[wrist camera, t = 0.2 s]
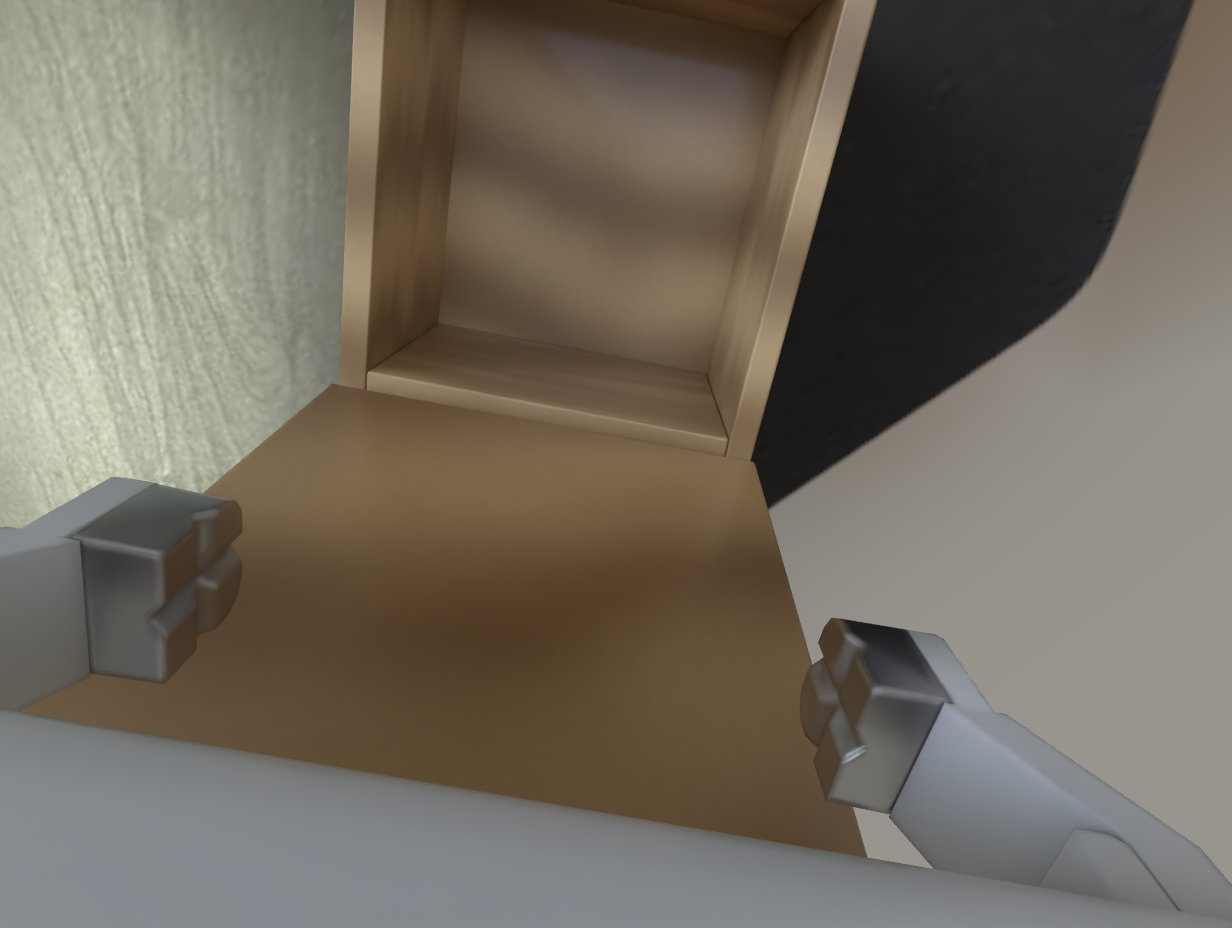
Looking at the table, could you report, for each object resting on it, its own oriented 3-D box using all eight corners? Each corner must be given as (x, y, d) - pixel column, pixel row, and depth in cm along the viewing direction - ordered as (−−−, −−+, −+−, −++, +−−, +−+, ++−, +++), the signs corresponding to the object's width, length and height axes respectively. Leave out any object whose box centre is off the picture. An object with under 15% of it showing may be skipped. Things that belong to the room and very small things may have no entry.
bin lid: (-224, 848, 8) (-196, 895, 8) (918, 1027, 8) (891, 1064, 8) (331, 382, 20) (331, 409, 21) (755, 461, 21) (747, 486, 21)
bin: (455, -53, 24) (360, -174, 16) (810, 22, 25) (894, -59, 17) (422, 334, 29) (338, 391, 21) (719, 390, 30) (749, 467, 22)
